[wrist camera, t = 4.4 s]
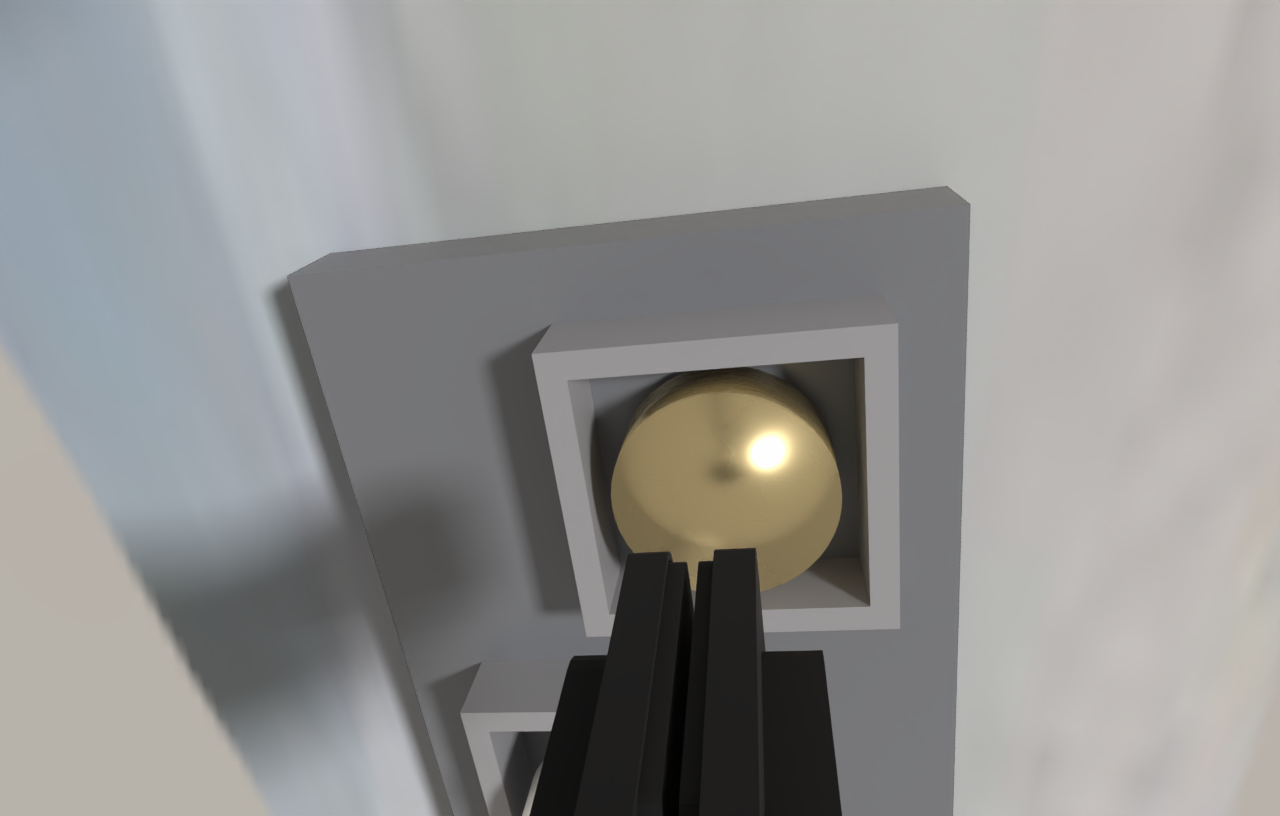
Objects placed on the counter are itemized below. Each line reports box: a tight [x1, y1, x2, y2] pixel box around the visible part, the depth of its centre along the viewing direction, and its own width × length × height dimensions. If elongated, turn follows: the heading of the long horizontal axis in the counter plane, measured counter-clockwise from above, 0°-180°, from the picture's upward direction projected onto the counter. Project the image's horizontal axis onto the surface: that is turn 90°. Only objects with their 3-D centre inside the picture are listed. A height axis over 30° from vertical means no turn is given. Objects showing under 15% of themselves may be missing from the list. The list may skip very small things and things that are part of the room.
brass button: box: [611, 367, 842, 592], centre depth 17 cm, size 5×5×2 cm
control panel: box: [287, 186, 970, 816], centre depth 22 cm, size 28×14×4 cm, turn 7°
